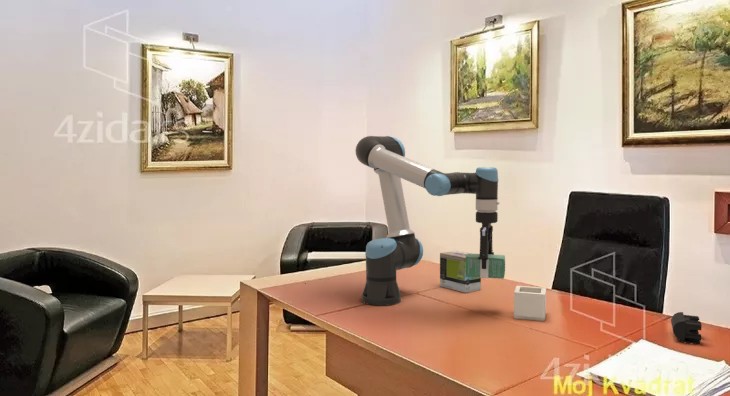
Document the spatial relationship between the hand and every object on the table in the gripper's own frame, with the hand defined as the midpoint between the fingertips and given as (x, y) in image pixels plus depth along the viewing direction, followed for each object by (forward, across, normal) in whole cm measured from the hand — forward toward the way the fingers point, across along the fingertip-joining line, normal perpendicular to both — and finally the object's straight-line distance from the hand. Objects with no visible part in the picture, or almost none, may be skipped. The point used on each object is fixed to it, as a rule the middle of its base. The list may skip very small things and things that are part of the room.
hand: (486, 275), depth 187 cm
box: (0, 0, 0) cm, 1 cm away
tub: (+13, 0, -15) cm, 20 cm away
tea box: (+13, +31, +15) cm, 37 cm away
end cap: (+13, -9, -60) cm, 62 cm away
